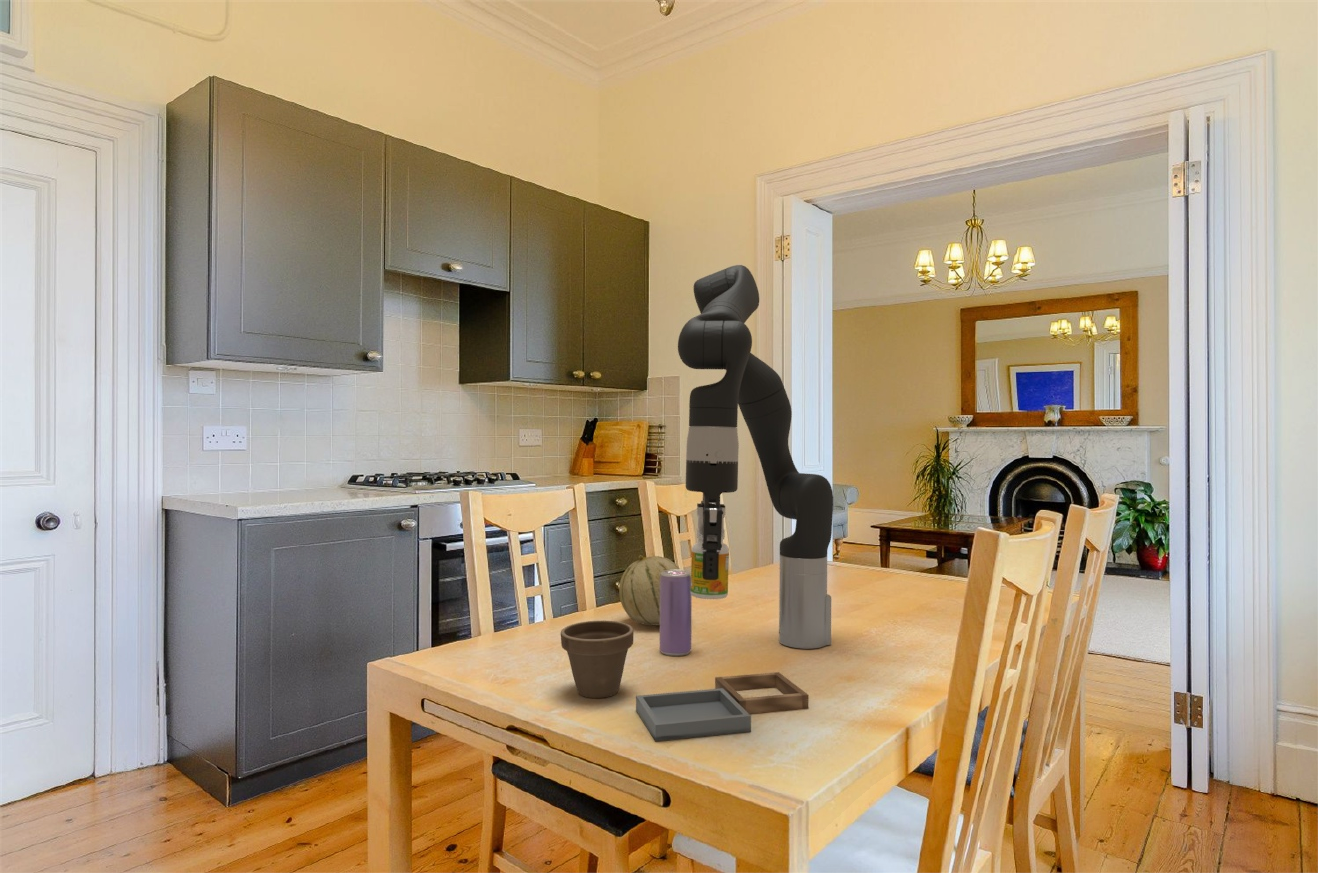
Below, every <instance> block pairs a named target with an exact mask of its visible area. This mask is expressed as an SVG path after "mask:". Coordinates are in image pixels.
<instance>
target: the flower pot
mask: <svg viewBox="0 0 1318 873" xmlns="http://www.w3.org/2000/svg"><path fill="white" fill-rule="evenodd" d="M634 632H635V631H634V628H633V626H631V625H630V624H627V623H625V622H622V621H615V620H587V621H581V622H576V623H572V624H570V625H567V626H565V627H564V628H562V629H561V630H560V644H561V647H562V650H564V651H566V653H567V656H568V660H569V664H570V670H571V673H572V677H573V680H574V681H573V682H574V683H575V684H574V685H575V687H576V690H577V693H578V694H579V695H581V696H583V697H585V698H589V699H604V698H609V697H612V696H615V695H616V694H617V693H618V692H619V690H620V686H621V682H622V678H623V674H624V669H625V665H626V664H625V663H626V659H627V654H628V651H629V649H630V648H632V646H633V645H634Z"/></svg>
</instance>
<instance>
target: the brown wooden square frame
mask: <svg viewBox="0 0 1318 873" xmlns="http://www.w3.org/2000/svg"><path fill="white" fill-rule="evenodd" d="M720 688H723V689H724V690H725V691H726V692H727V693H728V694H729V695H730V696H731V697H732V698H733V699H734V700H735V701H736V702H737V703H738V704H739V705H740V706H741V707H743V708H744V709H745V710H746V711H747V712H748V713H749V714H750V715H751V714H759V713H760V714H761V713H770V712H781V711H782V712H783V711H792V710H793V711H794V710H801V709H802V710H803V709H809V703H810V702H809V697H810V696H809V694H808V693H807V692H806V691H804V690H803V689H801V688H800V687H799V686H798V685H796V684H795V683H794V682H792V681H791V680H790V679H789V678H788V677H786V676H784V675H783V674H782V673H781V672H778V671H777V672H766V673H753V674H740V675H731V676H730V675H728V676H718V677H717V676H716V677H714V689H720ZM766 688H767V689H768V688H776V689H778V690H779V691H780V692H781V693H782V694H777V695H765V696H764V695H763V696H752V697H743V696H742V695H741V694H740V693H739V692H738V691H743V690H755V689H766Z"/></svg>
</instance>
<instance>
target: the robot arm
mask: <svg viewBox="0 0 1318 873" xmlns="http://www.w3.org/2000/svg"><path fill="white" fill-rule="evenodd" d="M693 294H694V300H695V303H696V305H697V307H698V308H697V309H698V310H699V312H700V314H698V315H695V316H694V317H692V318H689V320H688V321H687V322H686V323H685V324H684V325H683V327H682V328H681V331H680V333H679V336H678V339H677V340H678V341H677V352H678V355H679V358H680V360H681V362H682V363H683V364H684V365H685V366H686V367H689V368H690V369H694V370H725V373H724V375H723V377H722V378H721V379H720V380H719V381H717V382H713V383H710V384H705V385H700V386H696V387H694V388H692V390H691V391H690V394H689V403H688V405H689V406H688V407H689V409H688V411H689V412H688V415H689V416H688V430H687V431H688V433H687V437H686V454H685V460H686V461H685V490H687V491H689V492H696V493H702V500H701V501H700V503H697V505H696V515H697V528H699V536H700V537H702V539H703V541H702V547H701V550H702V552H703V571H702V576H703V579H705V580H717V579H718V568H719V553H720V550H721V548H722V544H721V537H722V536H723V533H724V530H725V527H724V525H725V524H724V523H725V522H724V518H725V516H726V505H725V504H724V503H721V494H723V493H724V494H726V493H730V494H731V493H735V492H736V491H738V485H739V481H738V480H739V436H738V418H739V417H738V414H739V410H740V413H741V415H742V417H743V420H744V422H745V425H746V426H747V430H748V431H749V434H750V437H751V439H752V442H753V445H754V448H755V451H756V453H757V456H758V460H759V462H760V464H761V468H762V472H763V475H764V480H765V483H766V486H767V490H768V493H769V498H770V500H771V503H772V506H773V507H774V509H775V511H776V512H777V513H778V514H779V515H780V516H782V517H784V518H786V519H791V520H795V521H796V522H795V527H794V529H795V530H794V532H793V534H791V535H790V536H788V537H787V536H786V537H785V538H783V539H781V540H780V542H779V586H778V587H779V591H778V592H779V597H778V598H779V600H778V601H779V605H778V606H779V608H778V610H779V614H778V615H779V617H778V621H779V622H778V623H779V624H778V641H779V643H780V644H782V646H786V647H790V648H794V649H795V648H796V649H811V650H812V649H820V648H823V647H826V646H830V645H832V596H831V595H830V594H828V551H829V550H828V549H829V546H830V543H831V538H832V532H833V531H832V530H833V515H834V494H833V492H834V491H833V489H832V485H831V483H830V482H829V480H828V478H826V477H825V476H823V475H820V474H816V473H802V472H799V471H798V469H797V467H796V465H795V463H794V461H793V457H792V454H791V453H790V449H789V448H790V446H789V436H790V429H791V424H792V415H793V414H792V413H793V412H792V405H791V402H790V399H789V397H788V394H787V391H786V389H785V386H784V383H783V381H782V377H781V376H780V375H779V374H778V372H776V370H774V369H773V368H772V367H771V366H770V365H768V364H767V363H766V362H764V360H762V359H760V358H759V357H758V356H756V355H755V354H753V353H752V352H751V351H752V346H753V336H752V333H751V330H750V328H749V327H748V326H747V325H746V322H747V320H748V319H749V318H750V317H751V316H752V315H753V313H755V311H757V309H758V308H759V305H760V293H759V289H758V286H757V282H756V281H755V278H754V276H753V273H752V272H751V271H750V269H749V268H748V267H746V266H745V265H742V264H736V265H732V266H728V267H726V268H724V269H721V270H718V271H717V272H714V273H711V274H708V275H706V276H704V277H701V278H698V279H697V280H696V281H694V283H693ZM738 409H739V410H738ZM707 537H715V538H716V541H707Z"/></svg>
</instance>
